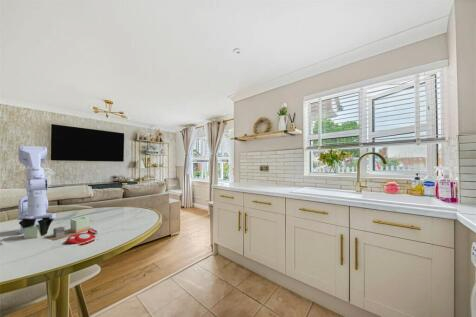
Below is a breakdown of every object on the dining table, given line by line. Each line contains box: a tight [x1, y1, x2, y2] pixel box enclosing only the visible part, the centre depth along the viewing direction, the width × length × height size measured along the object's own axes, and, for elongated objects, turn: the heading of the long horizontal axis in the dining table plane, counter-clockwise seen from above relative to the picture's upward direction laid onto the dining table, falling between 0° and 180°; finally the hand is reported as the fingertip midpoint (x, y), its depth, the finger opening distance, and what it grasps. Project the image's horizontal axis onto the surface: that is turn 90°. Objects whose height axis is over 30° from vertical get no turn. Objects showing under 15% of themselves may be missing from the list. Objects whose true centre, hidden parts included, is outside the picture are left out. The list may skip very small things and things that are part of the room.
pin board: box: [44, 226, 94, 241], centre depth 86 cm, size 10×15×4 cm, turn 155°
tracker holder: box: [64, 228, 99, 246], centre depth 79 cm, size 12×4×10 cm
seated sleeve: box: [69, 216, 91, 232], centre depth 90 cm, size 6×6×6 cm
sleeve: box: [23, 224, 50, 240], centre depth 83 cm, size 6×6×6 cm
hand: (36, 234), depth 83 cm, fingers closed on sleeve, 5 cm apart
